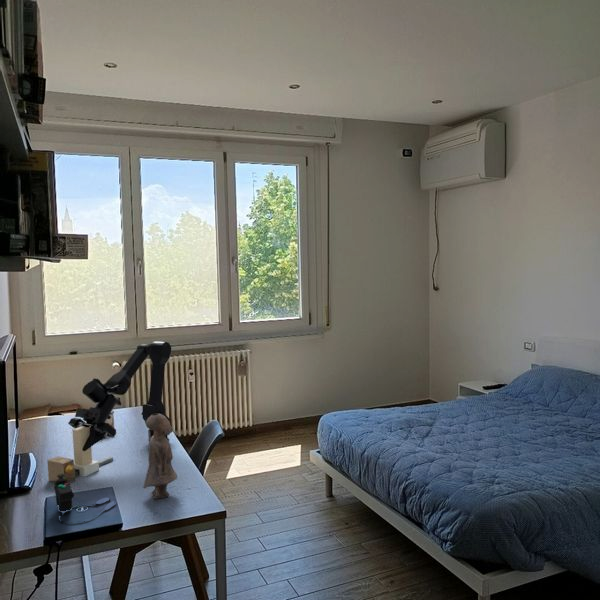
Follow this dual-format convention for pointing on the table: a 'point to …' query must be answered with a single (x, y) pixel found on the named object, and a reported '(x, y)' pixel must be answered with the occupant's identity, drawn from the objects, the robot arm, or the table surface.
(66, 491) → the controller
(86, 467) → the cream block on base
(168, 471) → the clay figurine
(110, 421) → the teacup with lid
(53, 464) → the brown block with rod
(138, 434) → the table surface
